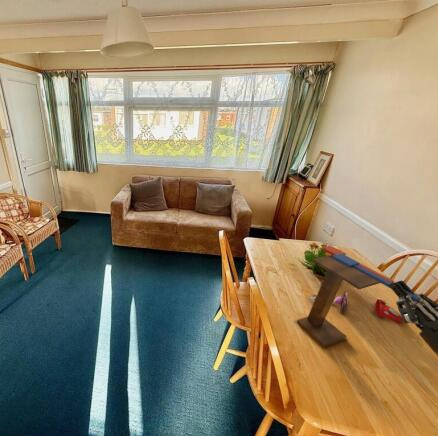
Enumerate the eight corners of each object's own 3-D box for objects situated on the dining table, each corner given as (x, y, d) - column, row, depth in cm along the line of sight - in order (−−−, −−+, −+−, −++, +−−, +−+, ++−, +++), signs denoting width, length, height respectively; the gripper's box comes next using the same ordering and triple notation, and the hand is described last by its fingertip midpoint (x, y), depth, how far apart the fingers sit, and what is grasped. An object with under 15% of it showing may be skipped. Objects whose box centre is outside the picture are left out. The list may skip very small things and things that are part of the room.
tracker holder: (409, 320, 98) (396, 320, 95) (400, 325, 100) (386, 326, 97) (382, 295, 107) (369, 295, 104) (374, 301, 110) (361, 300, 107)
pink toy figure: (343, 301, 101) (347, 291, 106) (329, 298, 105) (333, 288, 110) (344, 314, 102) (348, 304, 107) (330, 310, 106) (334, 301, 111)
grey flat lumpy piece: (318, 295, 113) (319, 292, 112) (332, 307, 106) (333, 304, 105) (305, 296, 112) (307, 293, 111) (319, 309, 105) (320, 306, 104)
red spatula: (395, 282, 74) (397, 279, 74) (387, 285, 73) (388, 282, 73) (329, 247, 93) (330, 245, 93) (321, 249, 92) (322, 247, 92)
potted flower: (354, 275, 127) (366, 248, 119) (349, 297, 111) (363, 269, 104) (302, 257, 142) (311, 232, 135) (292, 275, 127) (301, 248, 120)
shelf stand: (352, 342, 90) (389, 278, 76) (326, 352, 86) (359, 287, 73) (314, 311, 104) (340, 253, 90) (290, 319, 100) (313, 259, 86)
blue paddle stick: (422, 299, 62) (424, 296, 62) (412, 303, 61) (414, 300, 61) (340, 256, 82) (341, 253, 81) (331, 258, 80) (332, 255, 80)
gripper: (419, 358, 58) (366, 291, 67) (451, 343, 61) (397, 282, 71) (455, 355, 52) (392, 282, 61) (489, 339, 55) (424, 272, 65)
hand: (395, 282), depth 66 cm, fingers closed on blue paddle stick
